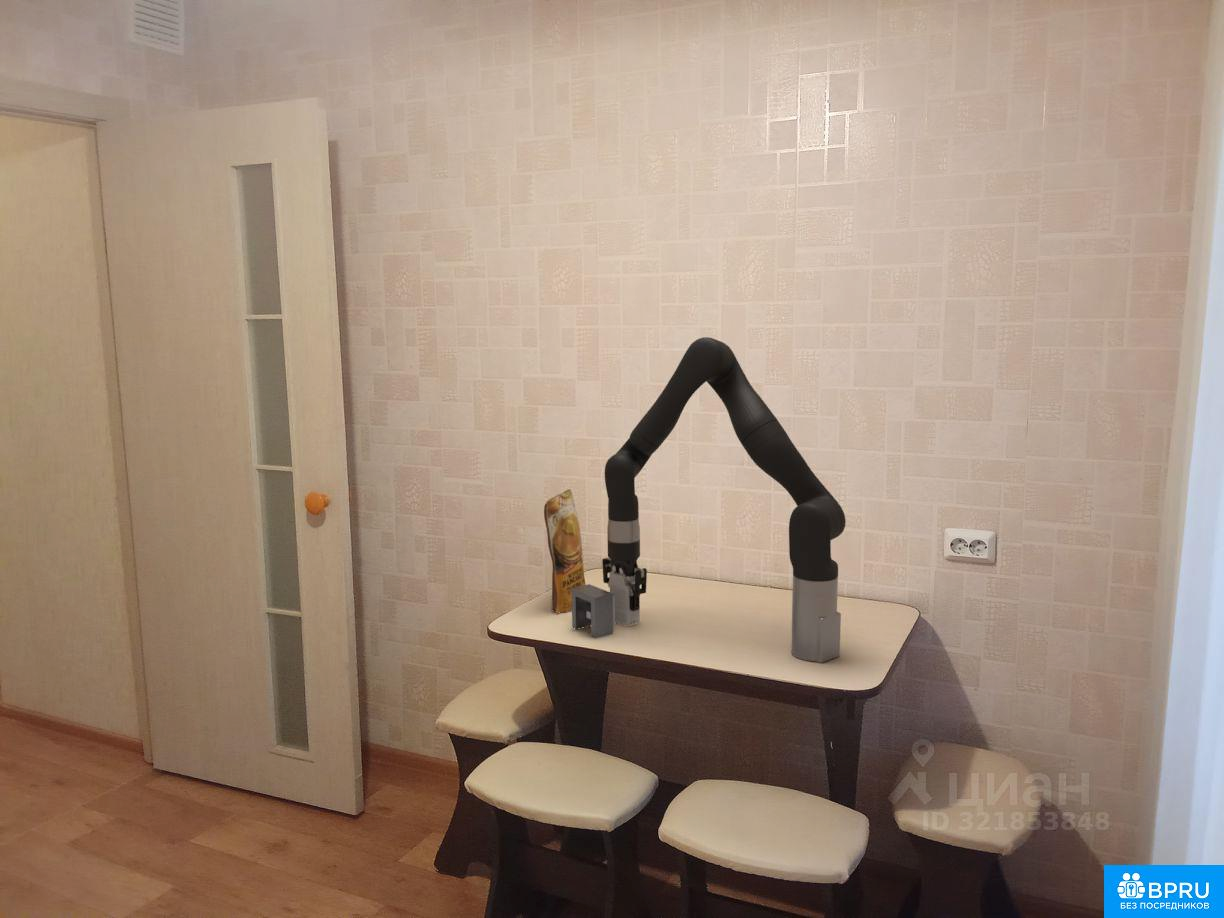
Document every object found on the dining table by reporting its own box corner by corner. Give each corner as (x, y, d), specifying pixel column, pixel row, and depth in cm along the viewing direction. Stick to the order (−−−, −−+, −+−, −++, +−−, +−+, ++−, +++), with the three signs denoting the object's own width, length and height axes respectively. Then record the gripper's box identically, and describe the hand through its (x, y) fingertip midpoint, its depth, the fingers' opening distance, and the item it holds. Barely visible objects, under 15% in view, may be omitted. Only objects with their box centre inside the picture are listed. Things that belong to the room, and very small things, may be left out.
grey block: (615, 626, 211) (615, 596, 210) (595, 631, 208) (594, 602, 207) (590, 615, 219) (590, 586, 218) (570, 620, 215) (569, 591, 214)
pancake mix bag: (537, 614, 222) (534, 500, 218) (572, 591, 239) (569, 486, 235) (562, 617, 219) (559, 503, 215) (595, 594, 237) (593, 488, 232)
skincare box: (640, 622, 215) (640, 573, 213) (628, 627, 212) (627, 577, 210) (621, 617, 220) (621, 568, 218) (609, 621, 216) (608, 572, 214)
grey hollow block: (634, 627, 212) (634, 587, 211) (595, 638, 205) (594, 597, 204) (603, 614, 222) (603, 576, 220) (564, 624, 215) (564, 585, 213)
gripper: (656, 540, 209) (656, 610, 212) (617, 529, 220) (618, 595, 223) (630, 546, 205) (631, 617, 207) (592, 534, 216) (593, 602, 219)
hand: (624, 606), depth 215 cm, fingers open, 7 cm apart
